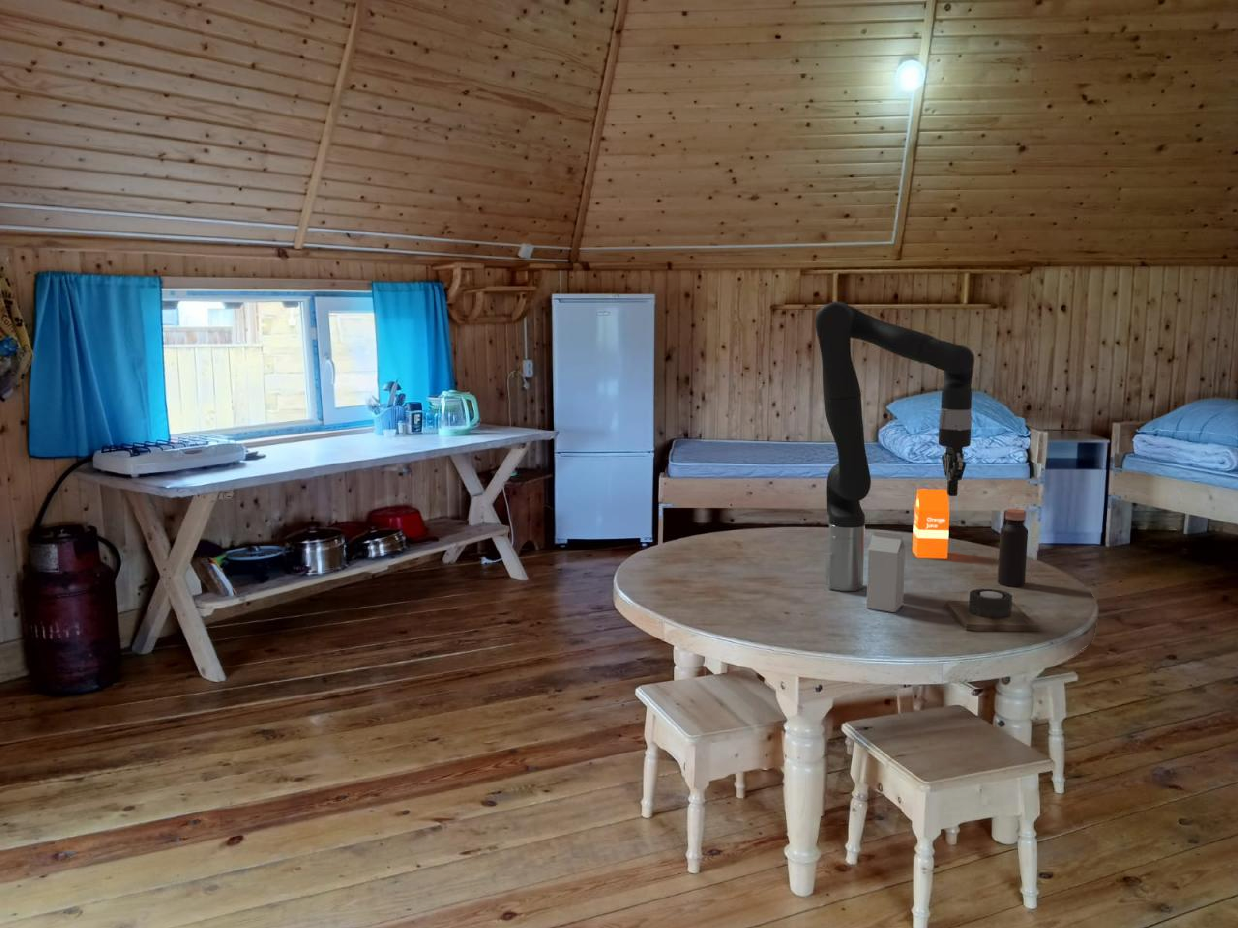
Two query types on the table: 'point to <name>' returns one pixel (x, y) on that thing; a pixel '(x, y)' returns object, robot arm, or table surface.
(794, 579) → the table surface
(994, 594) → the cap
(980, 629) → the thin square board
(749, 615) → the table surface
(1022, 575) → the bottle
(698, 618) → the table surface
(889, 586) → the milk carton
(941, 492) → the orange juice
